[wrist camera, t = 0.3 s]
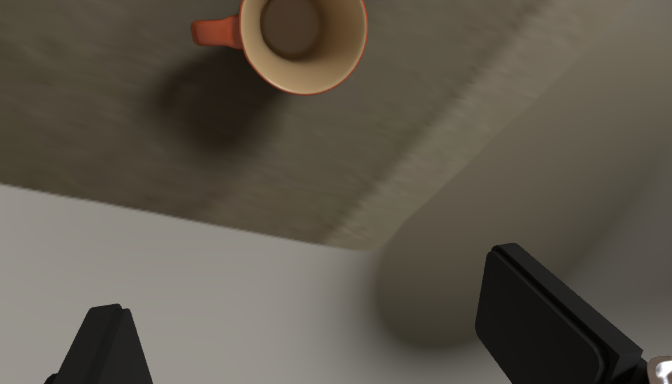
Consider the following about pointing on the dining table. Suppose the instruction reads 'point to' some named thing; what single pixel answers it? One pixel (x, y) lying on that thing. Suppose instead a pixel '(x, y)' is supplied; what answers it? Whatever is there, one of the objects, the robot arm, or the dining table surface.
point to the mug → (293, 40)
